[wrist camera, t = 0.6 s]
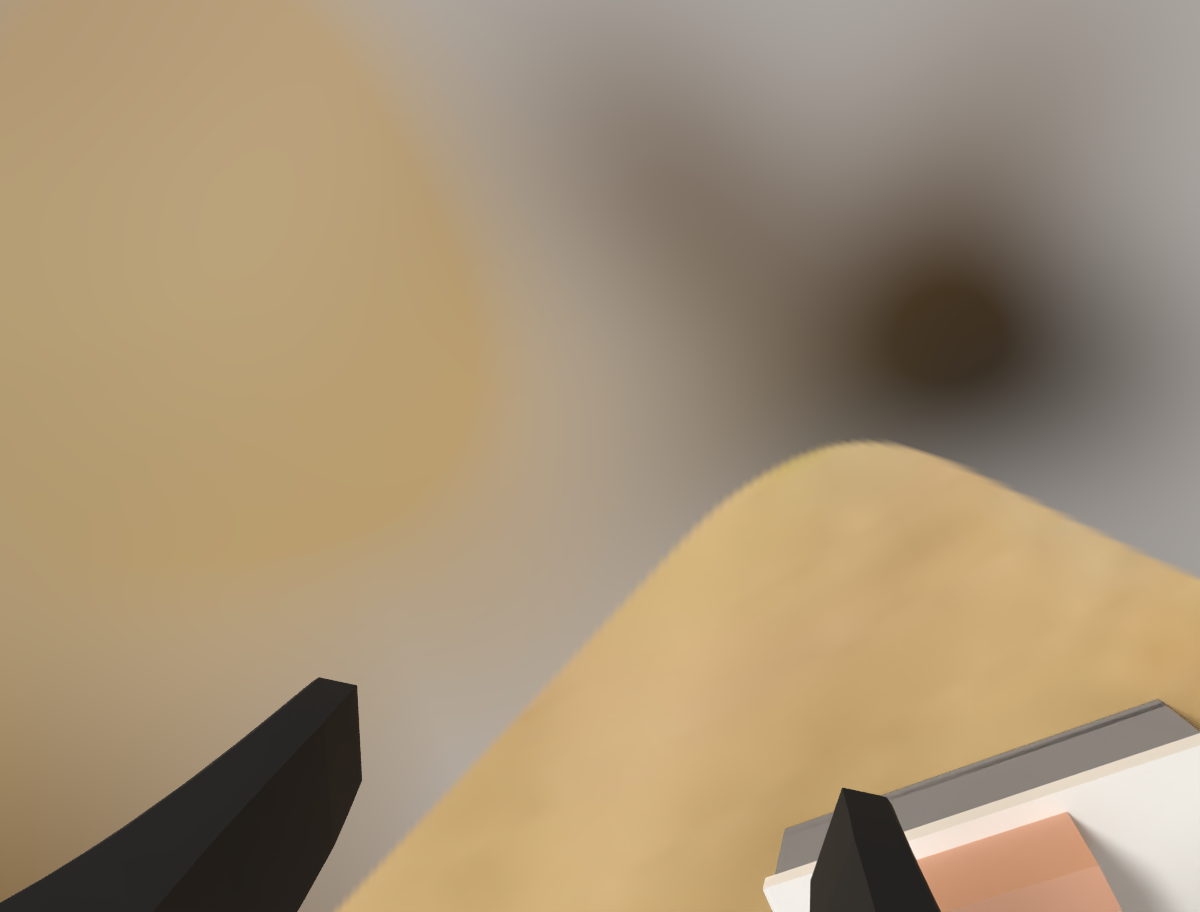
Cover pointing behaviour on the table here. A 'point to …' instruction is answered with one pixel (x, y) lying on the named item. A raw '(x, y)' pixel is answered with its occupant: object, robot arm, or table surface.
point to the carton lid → (1063, 844)
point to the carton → (1009, 774)
